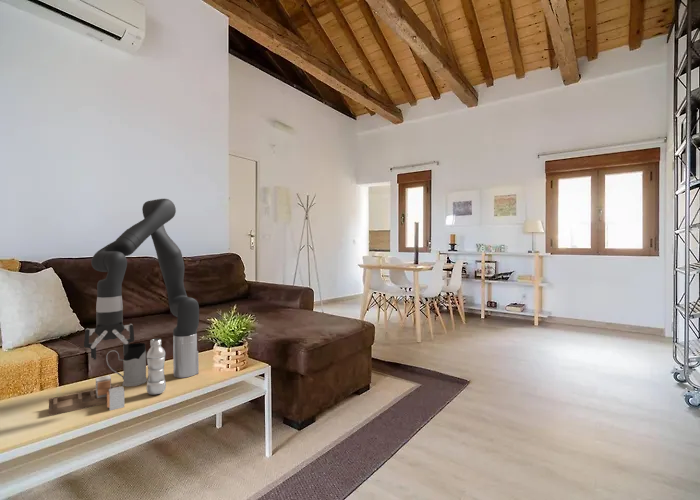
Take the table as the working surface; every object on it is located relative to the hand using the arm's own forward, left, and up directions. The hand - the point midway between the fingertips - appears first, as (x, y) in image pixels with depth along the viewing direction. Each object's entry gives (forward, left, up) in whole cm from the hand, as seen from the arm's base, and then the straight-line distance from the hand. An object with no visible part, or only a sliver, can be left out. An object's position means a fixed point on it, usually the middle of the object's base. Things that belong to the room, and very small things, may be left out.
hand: (110, 356), depth 124 cm
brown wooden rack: (+6, -8, -17) cm, 20 cm away
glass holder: (-8, -22, -17) cm, 29 cm away
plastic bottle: (-15, -3, -17) cm, 23 cm away
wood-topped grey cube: (-2, +1, -17) cm, 17 cm away
